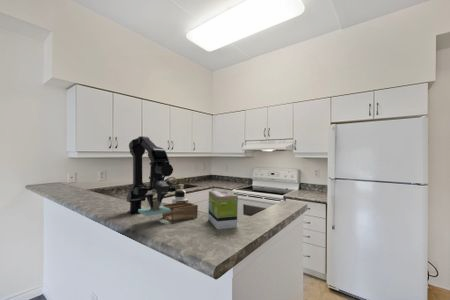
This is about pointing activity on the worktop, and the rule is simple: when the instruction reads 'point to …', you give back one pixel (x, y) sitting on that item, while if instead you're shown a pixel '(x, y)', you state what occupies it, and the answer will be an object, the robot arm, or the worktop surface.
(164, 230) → the worktop surface
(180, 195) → the medicine bottle
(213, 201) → the tea box
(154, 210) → the cover plate
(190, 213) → the box
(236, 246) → the worktop surface
